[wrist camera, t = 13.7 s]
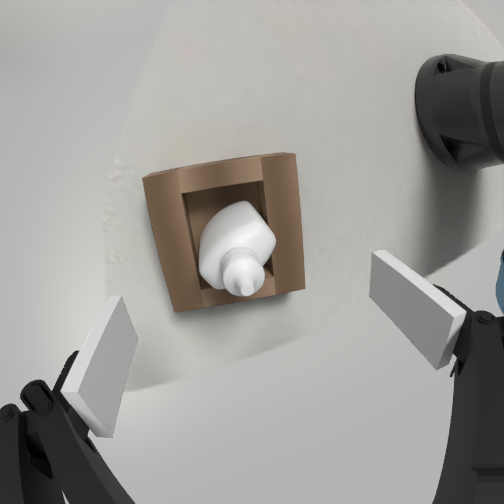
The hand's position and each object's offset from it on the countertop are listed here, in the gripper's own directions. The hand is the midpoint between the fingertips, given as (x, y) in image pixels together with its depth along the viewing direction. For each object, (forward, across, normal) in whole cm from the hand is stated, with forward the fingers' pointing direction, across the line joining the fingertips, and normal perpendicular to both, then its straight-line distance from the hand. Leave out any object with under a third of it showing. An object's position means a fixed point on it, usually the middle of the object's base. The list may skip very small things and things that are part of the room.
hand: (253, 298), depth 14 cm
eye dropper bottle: (+13, 0, 0) cm, 13 cm away
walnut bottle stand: (+14, +1, 0) cm, 14 cm away
